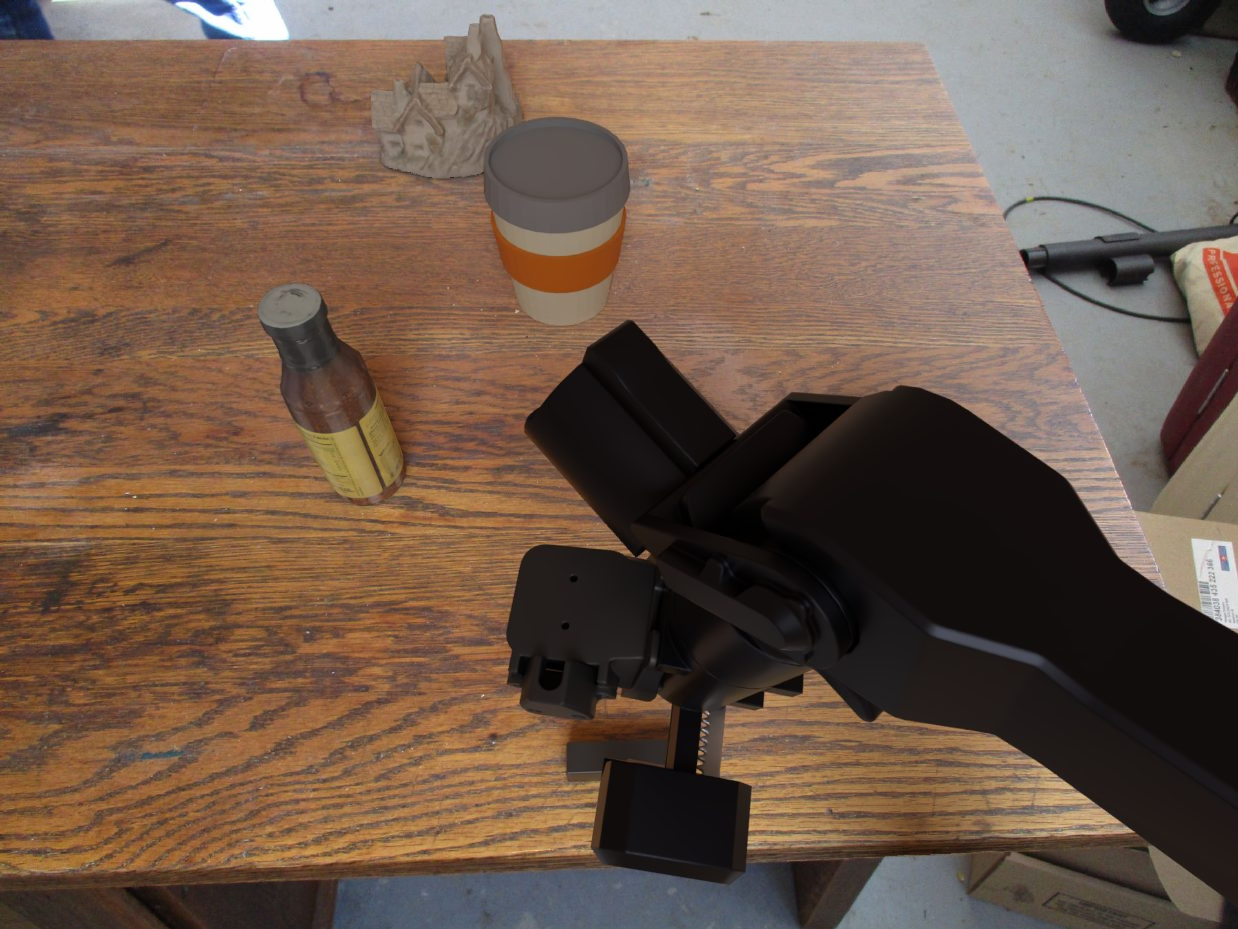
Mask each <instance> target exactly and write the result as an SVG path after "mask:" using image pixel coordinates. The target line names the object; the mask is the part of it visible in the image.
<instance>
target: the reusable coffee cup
mask: <svg viewBox="0 0 1238 929" xmlns="http://www.w3.org/2000/svg"><path fill="white" fill-rule="evenodd" d="M628 158H629V156H628V151H627V149H626V146H625V144H624V143H623V141H622V140H621V139H620V138H619V137H618V136H617V135H616V134H615V133H613V132H612V131H611V130H610V129H608V128H606V127H604V126H602V125H600V124H598V123H595V122H592V121H589V120H587V119H586V120H585V119H581V118H577V117H570V116H569V117H567V116H546V117H537V118H532V119H529V120H523V122H521V123H518V124H516V125H513V126H511V127H509V128H507V129H506V130H504V131H502V132H501V133H499V134H498V135H497V136H496V137H495V138H494V139H493V140H492V141H491V142H490V144H489V145H488V146H487V149H486V151H485V154H484V163H483V168H484V173H483V194H484V199H485V201H486V203H487V206H489V208H490V209H491V210H490V224H491V227H492V231H493V235H494V238H495V241H496V242H495V243H496V245H497V249H498V253H499V255H500V259H501V260H500V261H501V262H502V266H503V267H504V269H505V271H506V273H507V274H508V275H509V276H510V279H511V282H512V285H513V289H514V292H515V296H516V300H517V303H518V305H519V307H520V309H521V311H523V312H524V314H526V315H527V316H528V317H529V318H531V319H533V320H535V321H537V322H538V323H541V324H544V325H545V324H546V325H549V326H555V327H567V326H573V325H579V324H582V323H585V322H587V321H590V320H591V319H593V318H594V317H596V316H598V314H600V312H601V311H602V310H603V309H604V308H605V306H606V305H607V302H608V298H609V293H610V287H611V281H612V276H613V273H614V271H615V269H616V267H617V266H618V264H619V260H620V255H621V251H622V245H623V239H624V235H625V234H624V233H625V228H626V223H627V208H626V204H627V202H628V200H629V199H630V195H631V194H630V193H631V178H630V166H629V159H628Z"/></svg>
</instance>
